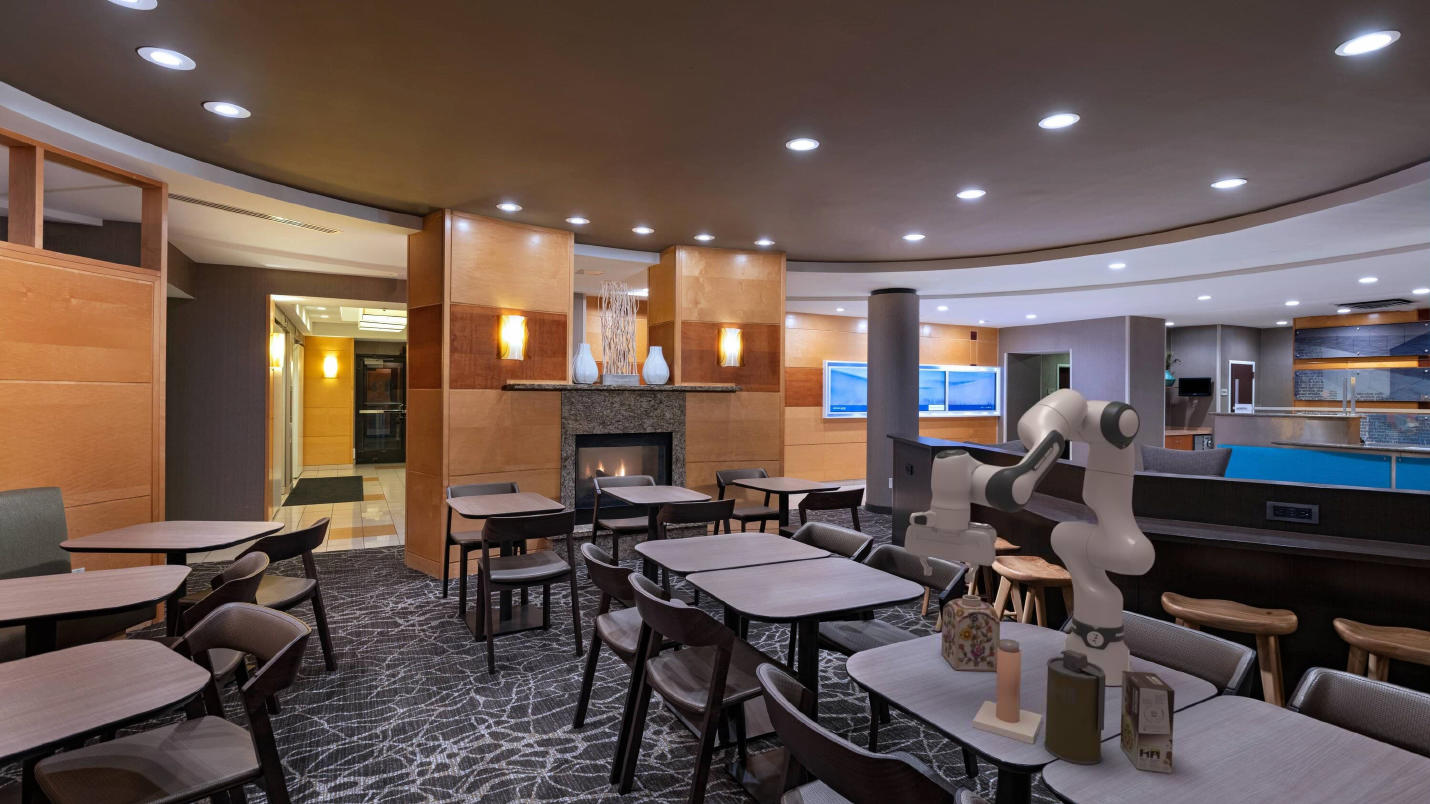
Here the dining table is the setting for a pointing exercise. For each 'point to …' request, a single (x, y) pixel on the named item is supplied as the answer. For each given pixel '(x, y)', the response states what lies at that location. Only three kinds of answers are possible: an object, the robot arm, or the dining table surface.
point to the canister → (1075, 708)
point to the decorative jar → (970, 634)
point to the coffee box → (1147, 721)
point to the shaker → (1008, 681)
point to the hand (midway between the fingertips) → (948, 578)
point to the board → (1019, 730)
